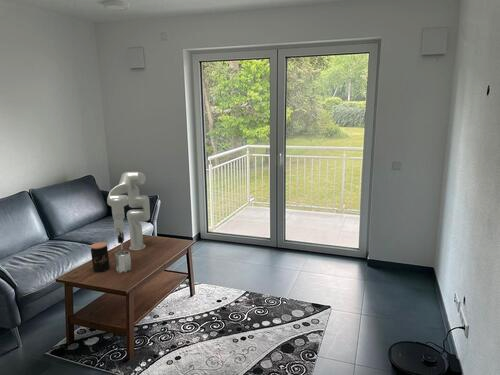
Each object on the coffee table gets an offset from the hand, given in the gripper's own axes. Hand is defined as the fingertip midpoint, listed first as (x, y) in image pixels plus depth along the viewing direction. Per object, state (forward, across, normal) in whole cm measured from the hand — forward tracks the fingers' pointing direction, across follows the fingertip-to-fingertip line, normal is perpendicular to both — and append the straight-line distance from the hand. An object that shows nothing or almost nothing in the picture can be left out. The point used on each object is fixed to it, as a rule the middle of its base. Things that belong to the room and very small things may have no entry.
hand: (121, 241), depth 256 cm
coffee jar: (+21, -4, -16) cm, 27 cm away
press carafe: (+21, -1, 0) cm, 21 cm away
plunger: (+10, 0, 0) cm, 10 cm away
